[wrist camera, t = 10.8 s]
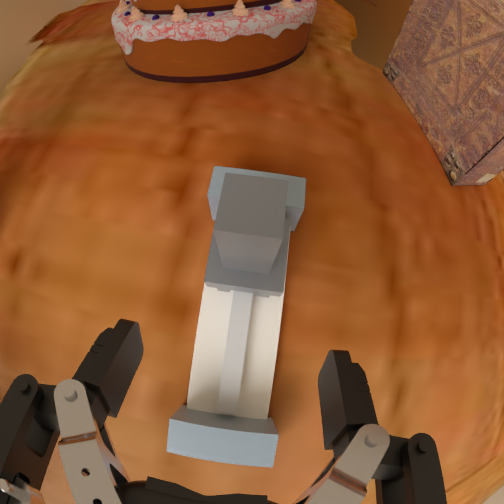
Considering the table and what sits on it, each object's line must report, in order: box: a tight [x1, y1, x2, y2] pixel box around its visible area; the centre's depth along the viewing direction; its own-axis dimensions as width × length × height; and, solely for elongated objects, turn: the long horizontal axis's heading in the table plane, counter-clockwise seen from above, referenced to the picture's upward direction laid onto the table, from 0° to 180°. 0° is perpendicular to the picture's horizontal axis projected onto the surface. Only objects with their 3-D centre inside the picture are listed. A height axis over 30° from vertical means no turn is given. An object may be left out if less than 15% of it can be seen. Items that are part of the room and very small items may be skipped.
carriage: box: [204, 173, 290, 298], centre depth 20 cm, size 6×6×11 cm
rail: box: [167, 166, 306, 467], centre depth 22 cm, size 25×8×5 cm, turn 172°
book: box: [383, 0, 504, 186], centre depth 20 cm, size 25×9×30 cm, turn 10°
